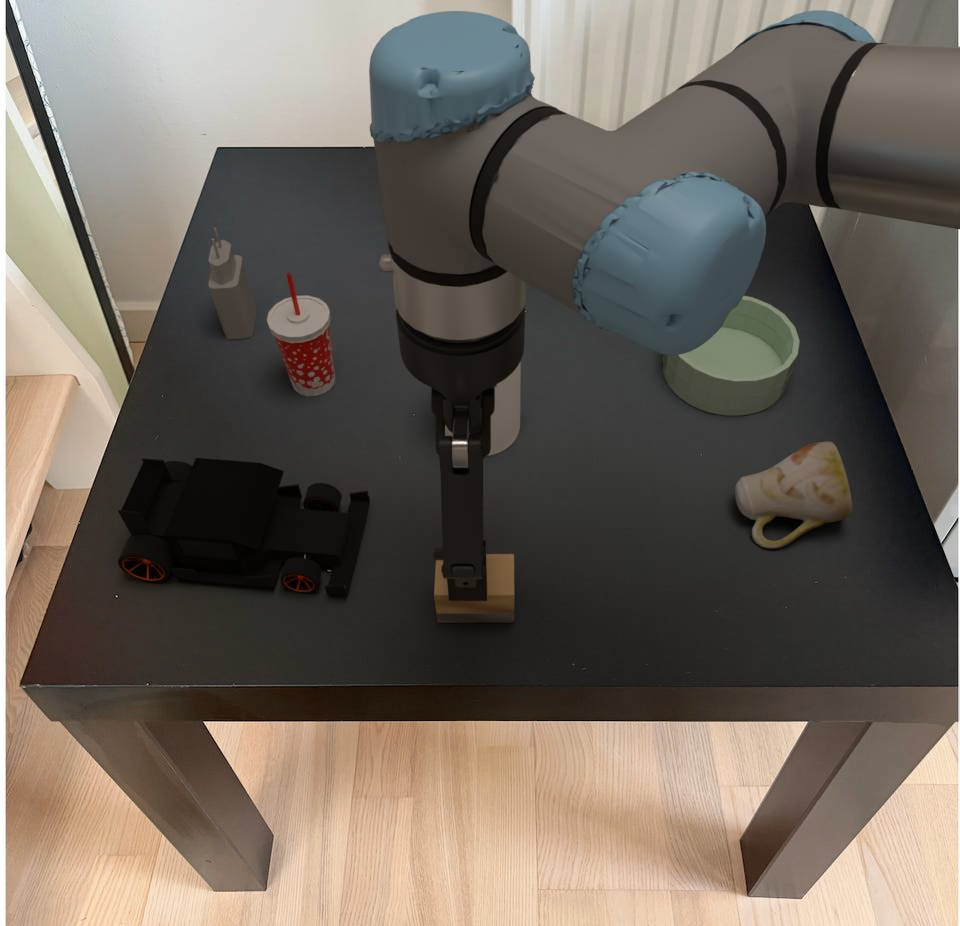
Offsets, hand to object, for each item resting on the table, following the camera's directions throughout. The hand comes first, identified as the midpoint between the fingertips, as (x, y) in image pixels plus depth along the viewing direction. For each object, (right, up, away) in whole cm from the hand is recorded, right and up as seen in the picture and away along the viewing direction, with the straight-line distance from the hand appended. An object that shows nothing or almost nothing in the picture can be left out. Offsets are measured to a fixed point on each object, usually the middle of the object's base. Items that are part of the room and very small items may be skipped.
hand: (470, 518), depth 69 cm
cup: (0, +9, +23) cm, 25 cm away
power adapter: (-26, +20, +33) cm, 46 cm away
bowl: (+26, +14, +26) cm, 39 cm away
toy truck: (-20, -3, +14) cm, 25 cm away
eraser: (0, -8, +9) cm, 12 cm away
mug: (+29, 0, +14) cm, 32 cm away
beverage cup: (-17, +13, +27) cm, 34 cm away
